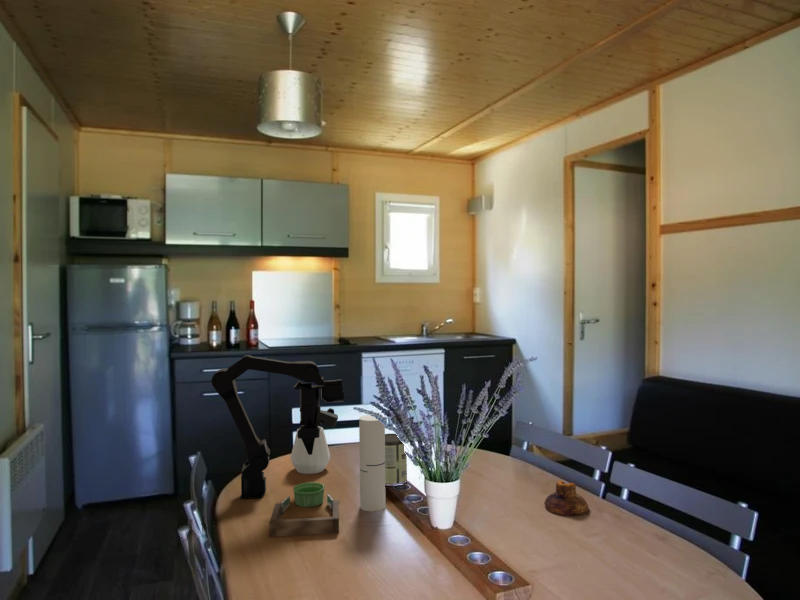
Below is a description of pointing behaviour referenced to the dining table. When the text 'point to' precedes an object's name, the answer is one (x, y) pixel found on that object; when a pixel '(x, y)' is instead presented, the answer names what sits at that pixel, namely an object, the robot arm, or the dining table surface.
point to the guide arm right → (330, 501)
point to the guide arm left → (285, 504)
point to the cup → (310, 462)
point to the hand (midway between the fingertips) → (310, 454)
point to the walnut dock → (303, 523)
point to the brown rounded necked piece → (566, 501)
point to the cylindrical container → (372, 464)
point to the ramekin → (308, 494)
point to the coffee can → (395, 460)
